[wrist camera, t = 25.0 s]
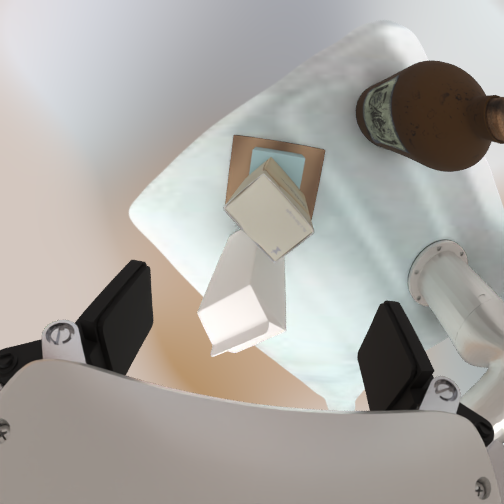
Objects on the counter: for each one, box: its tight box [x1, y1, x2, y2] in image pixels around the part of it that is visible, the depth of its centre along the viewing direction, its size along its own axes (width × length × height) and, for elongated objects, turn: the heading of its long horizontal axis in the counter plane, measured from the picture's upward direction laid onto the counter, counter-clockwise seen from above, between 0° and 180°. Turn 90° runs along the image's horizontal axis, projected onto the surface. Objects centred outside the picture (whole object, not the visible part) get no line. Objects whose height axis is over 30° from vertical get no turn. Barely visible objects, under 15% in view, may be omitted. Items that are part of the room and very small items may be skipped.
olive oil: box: [356, 61, 504, 172], centre depth 22 cm, size 11×11×25 cm
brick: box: [249, 147, 305, 189], centre depth 35 cm, size 6×8×5 cm
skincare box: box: [223, 157, 314, 263], centre depth 27 cm, size 6×4×12 cm
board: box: [225, 135, 325, 220], centre depth 38 cm, size 12×10×2 cm
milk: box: [198, 229, 286, 357], centre depth 33 cm, size 6×6×22 cm
